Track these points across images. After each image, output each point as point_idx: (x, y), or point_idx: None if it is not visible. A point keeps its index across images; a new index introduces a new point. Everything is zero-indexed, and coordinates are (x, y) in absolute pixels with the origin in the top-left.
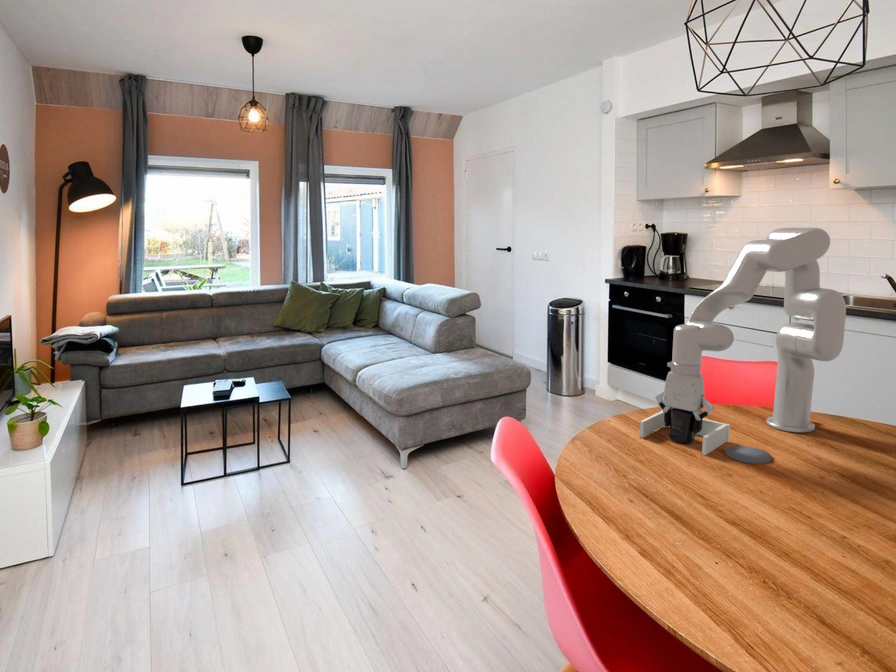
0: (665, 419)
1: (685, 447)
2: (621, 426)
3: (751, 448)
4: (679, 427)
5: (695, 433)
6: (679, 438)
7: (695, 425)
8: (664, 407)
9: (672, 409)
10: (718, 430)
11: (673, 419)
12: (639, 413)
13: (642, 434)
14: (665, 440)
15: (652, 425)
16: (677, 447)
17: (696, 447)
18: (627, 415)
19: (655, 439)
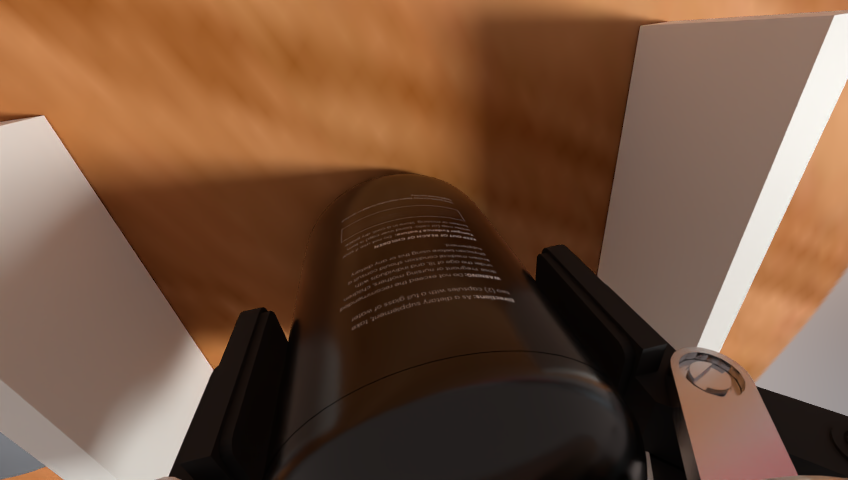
0: (602, 285)
1: (272, 148)
2: (831, 135)
3: (9, 457)
4: (374, 250)
5: (243, 313)
6: (363, 195)
7: (212, 384)
8: (764, 429)
9: (629, 458)
10: (59, 474)
11: (494, 294)
12: (746, 368)
13: (673, 22)
14: (476, 152)
15: (660, 220)
16: (309, 86)
17: (228, 222)
18: (801, 310)
19: (544, 103)
